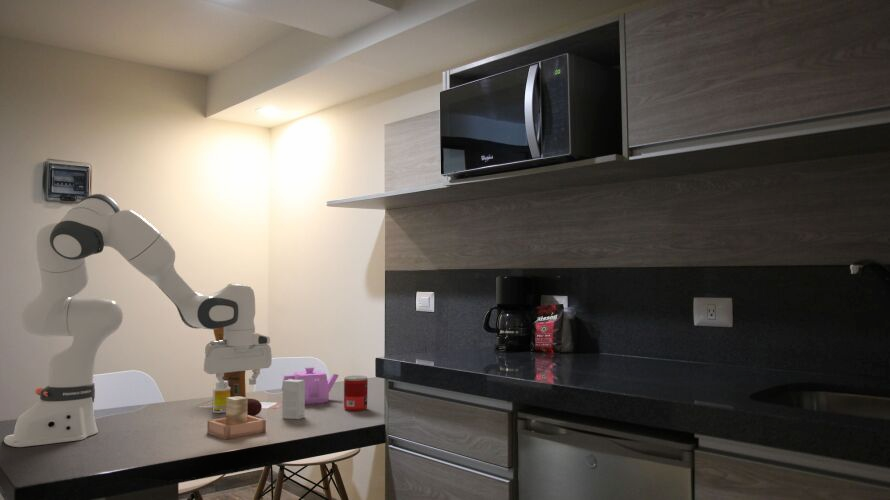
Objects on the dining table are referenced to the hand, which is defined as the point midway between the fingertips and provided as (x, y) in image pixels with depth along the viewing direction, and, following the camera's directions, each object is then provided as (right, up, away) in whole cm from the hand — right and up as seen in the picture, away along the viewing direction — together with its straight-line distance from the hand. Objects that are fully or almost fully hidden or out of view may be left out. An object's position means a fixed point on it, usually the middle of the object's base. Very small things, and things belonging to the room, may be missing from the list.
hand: (238, 386), depth 190 cm
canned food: (+30, -15, +33) cm, 47 cm away
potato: (-3, -14, +19) cm, 24 cm away
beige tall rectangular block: (0, -12, -2) cm, 12 cm away
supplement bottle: (-14, -15, +28) cm, 35 cm away
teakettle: (+11, -16, +49) cm, 52 cm away
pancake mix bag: (-19, -16, +52) cm, 57 cm away
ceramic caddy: (0, -13, -2) cm, 13 cm away
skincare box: (+12, -14, +19) cm, 27 cm away
